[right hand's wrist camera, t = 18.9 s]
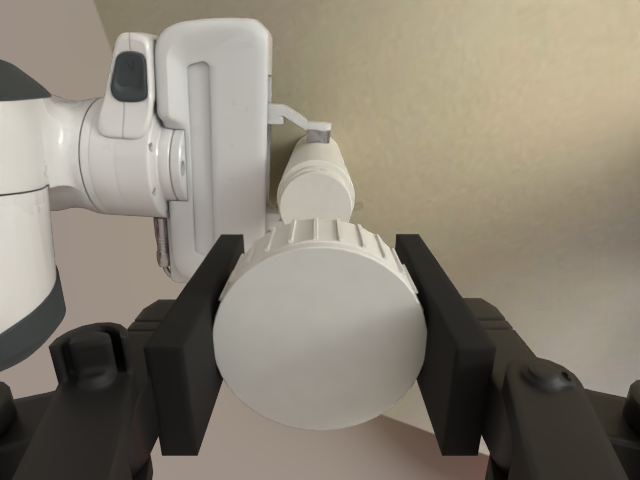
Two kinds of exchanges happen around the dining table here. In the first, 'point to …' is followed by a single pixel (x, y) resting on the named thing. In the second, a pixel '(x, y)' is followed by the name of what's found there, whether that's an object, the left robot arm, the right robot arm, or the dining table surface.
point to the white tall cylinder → (315, 184)
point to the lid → (319, 326)
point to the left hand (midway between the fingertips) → (327, 170)
